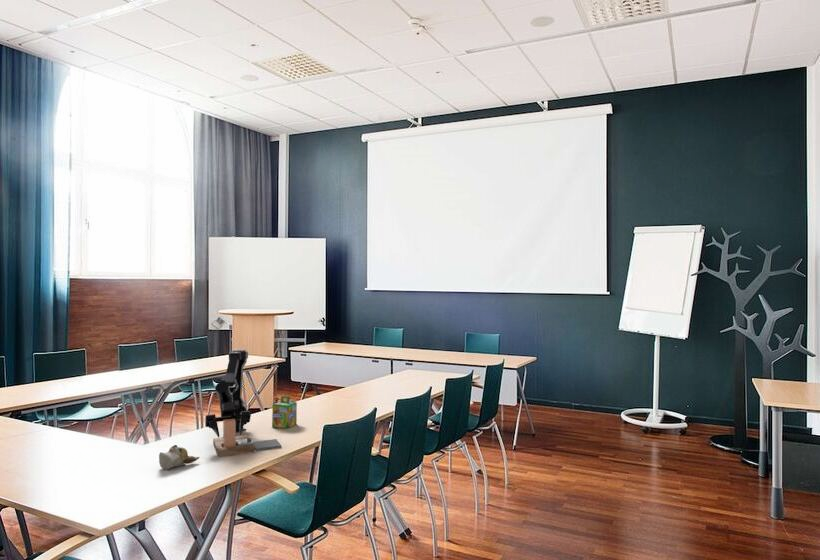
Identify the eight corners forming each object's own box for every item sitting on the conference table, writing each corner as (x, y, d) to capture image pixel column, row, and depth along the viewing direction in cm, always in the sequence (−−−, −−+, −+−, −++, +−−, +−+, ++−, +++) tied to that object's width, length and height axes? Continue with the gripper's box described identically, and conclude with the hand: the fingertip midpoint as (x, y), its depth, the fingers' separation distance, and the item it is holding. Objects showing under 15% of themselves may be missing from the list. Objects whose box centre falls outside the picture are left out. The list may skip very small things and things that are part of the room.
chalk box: (271, 427, 285) (271, 397, 285) (281, 423, 294) (280, 394, 294) (288, 429, 283) (288, 398, 283) (297, 424, 291) (297, 395, 291)
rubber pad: (251, 444, 257) (251, 442, 257) (276, 441, 261) (276, 439, 261) (255, 450, 247) (255, 448, 247) (281, 447, 251) (281, 445, 251)
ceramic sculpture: (151, 446, 224) (183, 439, 237) (150, 468, 224) (182, 460, 237) (169, 450, 219) (201, 443, 232) (168, 473, 218) (200, 465, 231)
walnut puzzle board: (213, 444, 257) (213, 438, 257) (247, 440, 263) (247, 434, 263) (217, 456, 239) (217, 450, 239) (254, 452, 245) (254, 446, 245)
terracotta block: (223, 449, 249) (223, 419, 249) (234, 448, 251) (234, 418, 251) (224, 452, 245) (224, 422, 245) (235, 451, 247) (235, 420, 246)
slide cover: (236, 441, 252) (236, 437, 252) (250, 439, 255) (250, 436, 255) (238, 445, 246) (238, 442, 246) (253, 444, 248) (253, 440, 248)
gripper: (205, 396, 247) (207, 428, 237) (250, 392, 255) (254, 423, 245) (204, 410, 255) (206, 442, 245) (247, 406, 262) (251, 437, 252)
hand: (229, 435), depth 246 cm, fingers open, 9 cm apart
